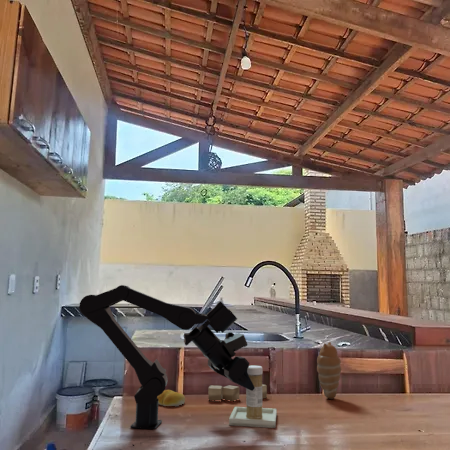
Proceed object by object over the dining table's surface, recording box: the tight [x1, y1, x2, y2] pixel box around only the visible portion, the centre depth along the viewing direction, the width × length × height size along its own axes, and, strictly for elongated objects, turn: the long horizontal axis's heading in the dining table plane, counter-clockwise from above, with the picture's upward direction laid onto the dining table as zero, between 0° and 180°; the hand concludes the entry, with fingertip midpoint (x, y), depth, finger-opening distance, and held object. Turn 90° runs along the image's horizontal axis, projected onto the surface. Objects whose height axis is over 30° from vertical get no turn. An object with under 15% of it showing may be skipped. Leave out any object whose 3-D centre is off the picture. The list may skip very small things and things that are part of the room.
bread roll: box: [157, 389, 186, 407], centre depth 127 cm, size 8×9×4 cm
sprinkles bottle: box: [245, 364, 264, 419], centre depth 111 cm, size 5×5×14 cm
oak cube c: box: [262, 383, 268, 399], centre depth 136 cm, size 4×4×4 cm
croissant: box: [316, 341, 342, 400], centre depth 136 cm, size 9×8×18 cm
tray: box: [228, 406, 278, 429], centre depth 111 cm, size 12×12×2 cm
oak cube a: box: [207, 385, 223, 401], centre depth 132 cm, size 4×4×4 cm
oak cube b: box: [222, 385, 240, 402], centre depth 132 cm, size 4×4×4 cm
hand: (246, 385), depth 111 cm, fingers open, 9 cm apart
